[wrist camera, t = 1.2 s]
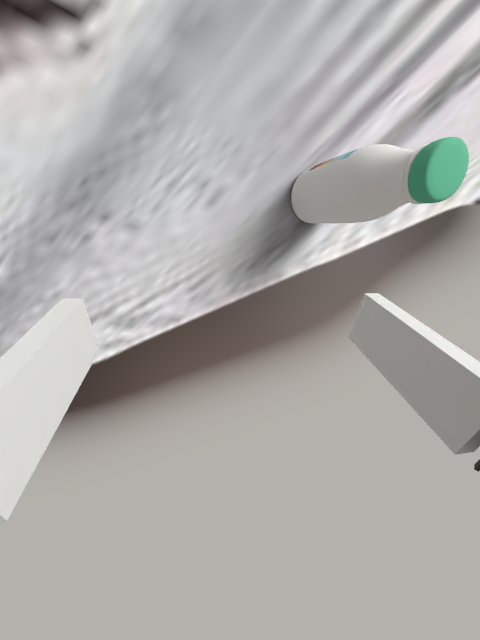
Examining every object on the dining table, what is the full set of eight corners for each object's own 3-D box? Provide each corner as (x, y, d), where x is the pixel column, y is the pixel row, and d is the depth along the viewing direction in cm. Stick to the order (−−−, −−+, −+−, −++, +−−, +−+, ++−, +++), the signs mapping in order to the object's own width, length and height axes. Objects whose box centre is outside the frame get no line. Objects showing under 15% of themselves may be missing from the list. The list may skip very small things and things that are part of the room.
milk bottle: (316, 232, 39) (442, 239, 21) (280, 207, 36) (392, 189, 18) (342, 186, 37) (501, 152, 20) (306, 155, 34) (457, 81, 17)
